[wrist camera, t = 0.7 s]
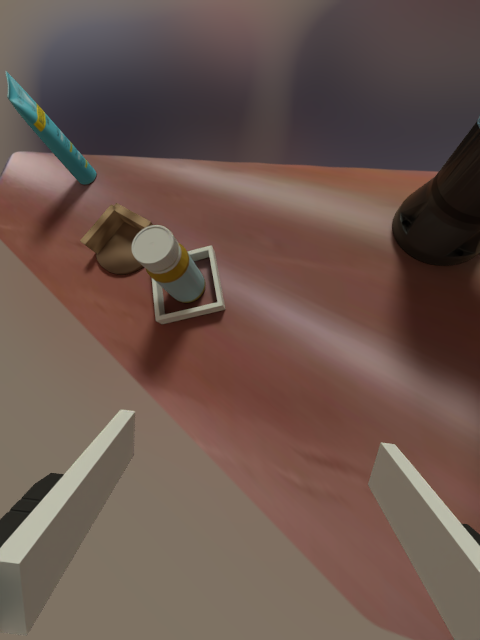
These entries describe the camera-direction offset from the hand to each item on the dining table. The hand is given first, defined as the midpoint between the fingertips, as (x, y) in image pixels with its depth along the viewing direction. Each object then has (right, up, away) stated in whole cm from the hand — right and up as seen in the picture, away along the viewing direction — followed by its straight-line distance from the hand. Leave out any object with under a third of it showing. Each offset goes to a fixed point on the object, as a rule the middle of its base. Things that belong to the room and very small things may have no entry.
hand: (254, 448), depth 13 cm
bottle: (-11, +13, +35) cm, 39 cm away
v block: (-25, +23, +39) cm, 52 cm away
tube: (-39, +42, +47) cm, 74 cm away
